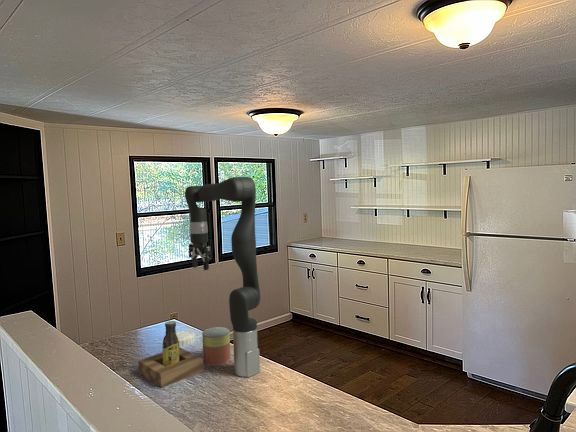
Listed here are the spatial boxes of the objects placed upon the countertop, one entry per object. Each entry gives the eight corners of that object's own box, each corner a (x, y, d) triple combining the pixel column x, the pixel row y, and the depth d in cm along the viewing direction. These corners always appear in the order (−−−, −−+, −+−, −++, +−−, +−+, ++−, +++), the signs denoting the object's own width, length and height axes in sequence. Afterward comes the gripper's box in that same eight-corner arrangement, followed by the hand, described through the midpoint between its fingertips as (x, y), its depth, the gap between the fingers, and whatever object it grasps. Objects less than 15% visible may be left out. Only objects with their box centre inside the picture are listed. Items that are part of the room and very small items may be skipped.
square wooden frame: (203, 371, 167) (203, 358, 167) (161, 387, 155) (160, 374, 154) (179, 358, 180) (178, 346, 180) (138, 372, 168) (137, 360, 167)
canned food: (233, 354, 183) (232, 327, 182) (227, 365, 172) (225, 336, 171) (207, 354, 184) (206, 326, 183) (199, 365, 173) (198, 336, 172)
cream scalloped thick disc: (200, 340, 201) (200, 332, 201) (181, 349, 191) (181, 341, 191) (182, 335, 208) (182, 328, 207) (163, 344, 197) (162, 336, 197)
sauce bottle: (170, 377, 163) (167, 326, 161) (159, 373, 167) (157, 323, 165) (183, 371, 168) (181, 321, 166) (173, 367, 172) (171, 319, 170)
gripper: (215, 232, 183) (217, 269, 185) (197, 230, 193) (198, 265, 195) (200, 233, 178) (202, 272, 179) (182, 231, 188) (184, 268, 189)
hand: (200, 268), depth 187 cm, fingers open, 8 cm apart
